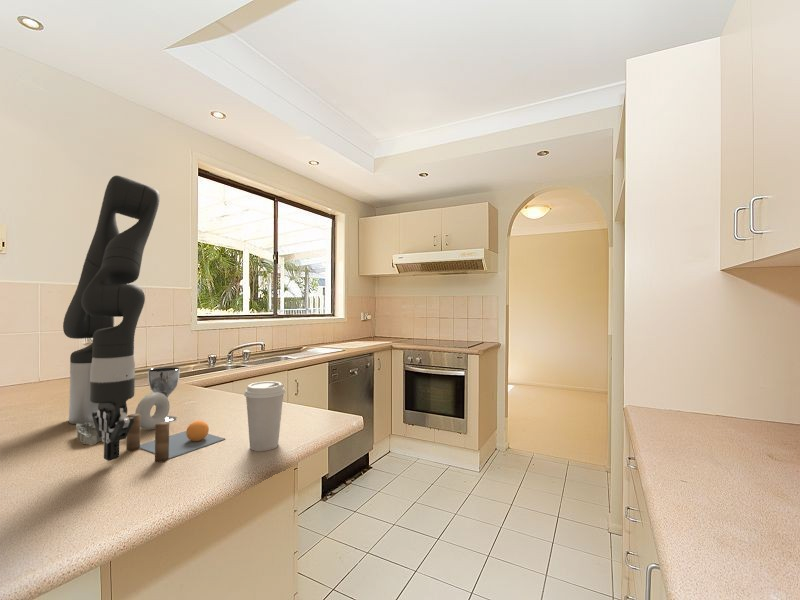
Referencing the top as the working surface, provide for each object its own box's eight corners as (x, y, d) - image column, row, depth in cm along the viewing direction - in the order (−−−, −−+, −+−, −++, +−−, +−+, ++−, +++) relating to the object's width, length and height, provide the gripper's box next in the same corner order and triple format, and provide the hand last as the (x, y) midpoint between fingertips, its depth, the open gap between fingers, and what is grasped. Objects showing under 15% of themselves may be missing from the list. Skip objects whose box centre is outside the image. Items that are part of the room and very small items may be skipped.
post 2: (152, 460, 81) (152, 424, 81) (164, 456, 84) (165, 421, 84) (158, 463, 80) (159, 426, 80) (171, 459, 82) (171, 423, 82)
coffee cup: (260, 457, 84) (261, 391, 84) (234, 448, 89) (235, 385, 89) (292, 444, 92) (293, 383, 92) (267, 436, 97) (268, 379, 97)
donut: (142, 435, 97) (143, 397, 97) (131, 434, 97) (131, 396, 97) (172, 423, 106) (173, 388, 107) (162, 422, 107) (162, 388, 107)
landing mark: (135, 446, 89) (135, 445, 89) (192, 429, 101) (192, 429, 101) (168, 459, 82) (168, 458, 82) (225, 439, 95) (225, 438, 95)
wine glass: (140, 421, 108) (141, 370, 108) (166, 414, 115) (167, 366, 115) (159, 425, 105) (160, 372, 105) (184, 417, 112) (185, 367, 112)
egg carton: (119, 440, 94) (120, 424, 94) (81, 448, 89) (81, 431, 89) (110, 430, 101) (111, 415, 101) (74, 437, 96) (75, 421, 96)
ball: (184, 419, 93) (204, 416, 97) (180, 439, 93) (200, 435, 97) (194, 425, 90) (214, 422, 94) (190, 445, 90) (210, 442, 94)
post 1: (124, 449, 87) (124, 415, 87) (136, 446, 90) (136, 412, 90) (129, 451, 86) (130, 417, 86) (142, 448, 88) (142, 414, 88)
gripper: (149, 377, 79) (147, 459, 79) (117, 371, 85) (116, 446, 85) (107, 384, 72) (105, 472, 72) (77, 376, 79) (75, 458, 79)
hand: (111, 458), depth 79 cm, fingers closed
